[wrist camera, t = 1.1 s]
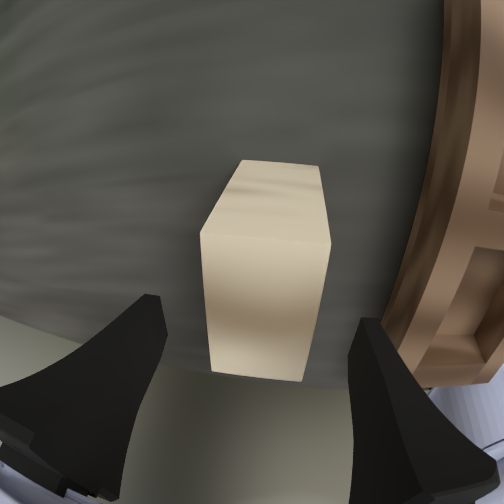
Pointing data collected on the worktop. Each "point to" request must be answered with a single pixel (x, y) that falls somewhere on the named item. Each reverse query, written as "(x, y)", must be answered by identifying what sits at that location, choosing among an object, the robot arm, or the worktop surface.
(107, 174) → the worktop surface
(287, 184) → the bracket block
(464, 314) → the wooden compartment tray
